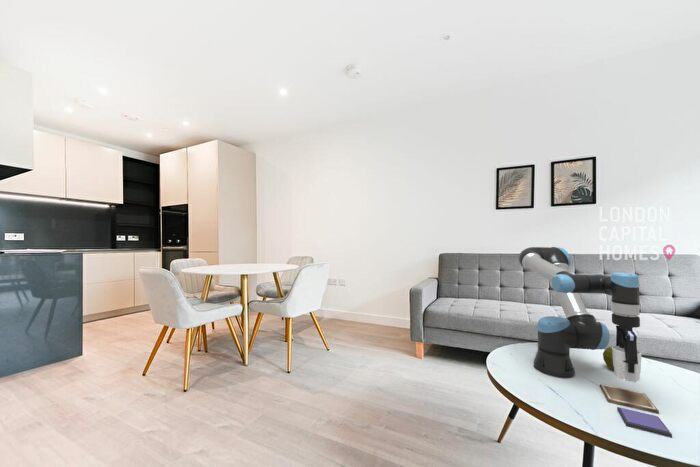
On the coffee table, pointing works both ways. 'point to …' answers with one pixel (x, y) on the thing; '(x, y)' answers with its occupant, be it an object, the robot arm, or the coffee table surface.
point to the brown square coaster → (628, 398)
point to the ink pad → (644, 422)
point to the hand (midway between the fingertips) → (626, 376)
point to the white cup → (620, 365)
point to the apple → (608, 357)
